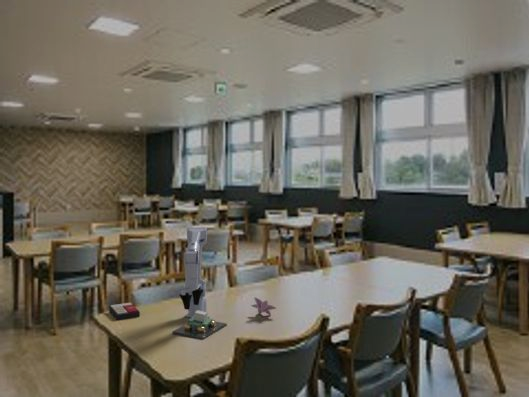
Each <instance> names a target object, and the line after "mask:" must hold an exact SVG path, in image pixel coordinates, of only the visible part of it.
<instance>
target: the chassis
mask: <svg viewBox="0 0 529 397" xmlns="http://www.w3.org/2000/svg"><path fill="white" fill-rule="evenodd" d="M211 319H212V322H211V323H210V324H209V325H207V326H202V325H201V327H197V326H193V325H190V322H188V321H187V323H185V324H184V325H182V326H180V327H179V328H176V329H174V330H172V332H171V334H172V335H177V336H184V337H187V338H193V339H198V340H205V339H207V338H209V337H211V336H212V335H214V334H216V332H218V331H220V330H222V329H223V328H225V327H227V325H228V324H227V322H221V321H216V320H215V319H213V318H211Z"/></svg>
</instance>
